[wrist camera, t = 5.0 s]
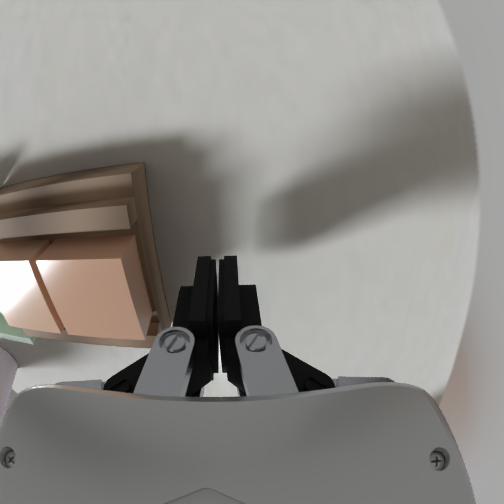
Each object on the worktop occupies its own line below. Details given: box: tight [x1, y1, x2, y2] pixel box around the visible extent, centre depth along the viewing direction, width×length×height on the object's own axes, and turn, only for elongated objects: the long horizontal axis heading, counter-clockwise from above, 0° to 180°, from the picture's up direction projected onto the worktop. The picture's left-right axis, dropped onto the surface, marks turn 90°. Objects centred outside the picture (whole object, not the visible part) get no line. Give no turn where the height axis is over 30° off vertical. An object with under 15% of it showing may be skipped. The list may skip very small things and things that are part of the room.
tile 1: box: [36, 235, 153, 340], centre depth 12 cm, size 4×4×2 cm
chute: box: [0, 163, 171, 348], centre depth 13 cm, size 10×10×3 cm
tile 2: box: [0, 240, 64, 334], centre depth 11 cm, size 4×4×2 cm
